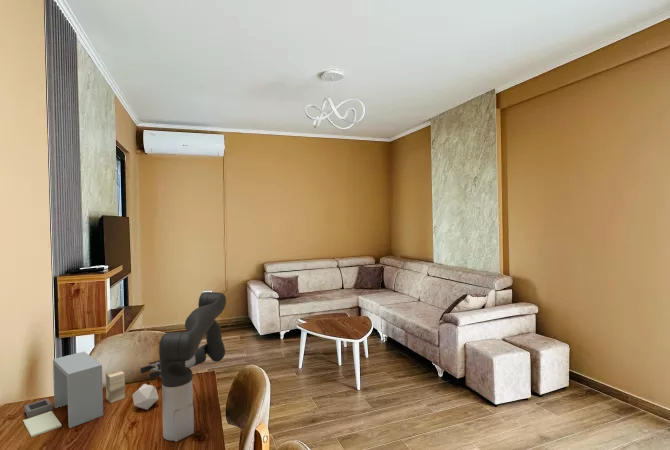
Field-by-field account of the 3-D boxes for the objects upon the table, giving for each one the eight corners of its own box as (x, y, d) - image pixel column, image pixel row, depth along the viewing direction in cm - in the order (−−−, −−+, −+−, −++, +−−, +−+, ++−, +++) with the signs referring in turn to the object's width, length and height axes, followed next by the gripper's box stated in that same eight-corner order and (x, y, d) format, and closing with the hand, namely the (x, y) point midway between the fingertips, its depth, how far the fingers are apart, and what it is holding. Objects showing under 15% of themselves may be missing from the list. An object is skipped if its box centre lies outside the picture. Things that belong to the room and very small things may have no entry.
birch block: (125, 397, 142) (124, 373, 142) (110, 403, 138) (110, 377, 138) (120, 394, 146) (119, 369, 145) (106, 398, 142) (105, 373, 142)
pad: (61, 426, 123) (61, 424, 123) (31, 437, 117) (31, 435, 117) (51, 412, 132) (51, 410, 132) (23, 421, 126) (23, 420, 126)
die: (163, 405, 137) (160, 380, 142) (151, 404, 130) (148, 378, 134) (142, 414, 136) (140, 389, 141) (129, 414, 129) (126, 387, 133)
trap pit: (52, 410, 133) (52, 404, 133) (28, 419, 128) (27, 412, 128) (48, 404, 138) (47, 398, 138) (24, 412, 132) (24, 405, 132)
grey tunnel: (103, 415, 129) (101, 364, 129) (69, 428, 122) (68, 374, 122) (85, 397, 143) (84, 351, 143) (54, 407, 135) (52, 359, 135)
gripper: (174, 349, 167) (137, 360, 155) (189, 357, 158) (151, 369, 146) (175, 365, 167) (138, 377, 155) (190, 373, 158) (152, 387, 146)
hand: (144, 373), depth 150 cm, fingers open, 8 cm apart
